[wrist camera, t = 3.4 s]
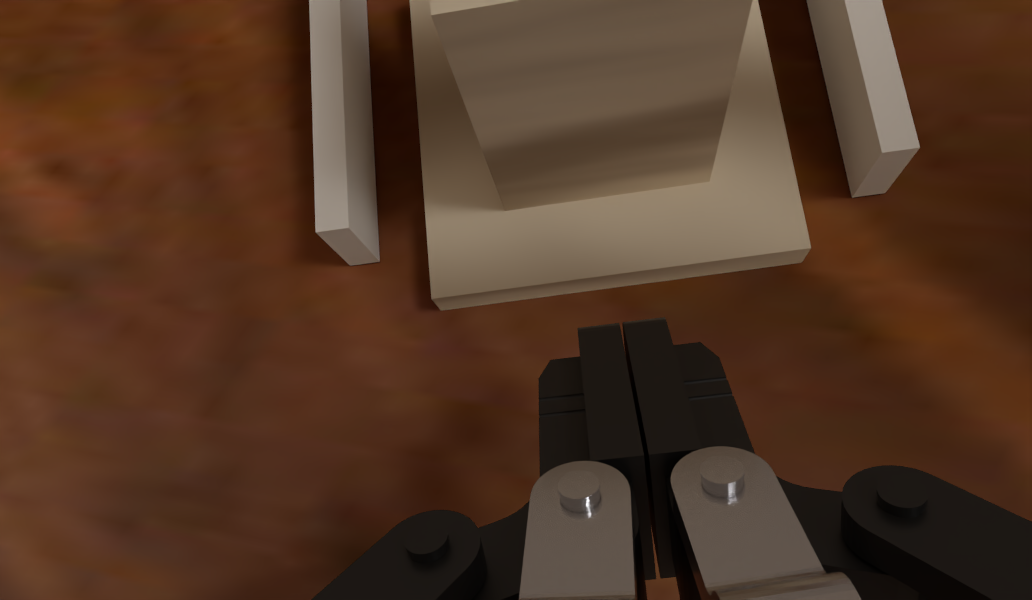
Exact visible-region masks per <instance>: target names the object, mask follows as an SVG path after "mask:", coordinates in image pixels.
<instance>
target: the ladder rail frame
mask: <svg viewBox="0 0 1032 600" xmlns="http://www.w3.org/2000/svg"><path fill="white" fill-rule="evenodd" d="M806 1H807V5H808V10H809V14H810V18H811V23H812V27H813V31H814V36H815V40H816V44H817V49H818V53H819V57H820V62H821V66H822V70H823V75H824V79H825V83H826V88H827V92H828V96H829V101H830V105H831V109H832V114H833V118H834V122H835V127H836V131H837V136H838V140H839V144H840V149H841V153H842V157H843V162H844V166H845V170H846V175H847V179H848V183H849V188H850V192H851V196H852V198H853V197H860V196H868V195H875V194H883V193H886V191H887V190H888V189H889V188H890V186H891V185H892V184H893V182H894V181H895V180H896V178H897V177H898V176H899V174H900V173H901V172H902V171H903V169H904V168H905V167H906V165H907V164H908V163H909V161H910V160H911V159H912V157H913V156H914V155H915V154H916V152H917V151H918V150H919V148H920V145H919V141H918V137H917V134H916V130H915V126H914V122H913V118H912V114H911V111H910V107H909V103H908V99H907V95H906V92H905V88H904V84H903V80H902V76H901V72H900V69H899V65H898V61H897V57H896V53H895V49H894V46H893V42H892V38H891V34H890V30H889V26H888V23H887V19H886V15H885V11H884V7H883V4H882V0H806ZM309 12H310V48H311V85H312V121H313V157H314V193H315V230H316V233H317V234H318V235H319V236H320V237H321V238H322V239H323V240H324V241H325V242H326V243H327V244H328V245H329V246H330V247H331V248H332V249H333V250H334V251H335V252H336V253H337V254H338V255H339V256H341V257H342V258H343V259H344V260H345V261H346V262H347V263H348V264H349V265H350V266H352V265H360V264H367V263H374V262H380V256H379V236H378V217H377V197H376V177H375V158H374V138H373V119H372V99H371V79H370V60H369V40H368V21H367V1H366V0H309Z"/></svg>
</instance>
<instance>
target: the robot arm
mask: <svg viewBox="0 0 1032 600" xmlns="http://www.w3.org/2000/svg"><path fill="white" fill-rule="evenodd" d="M623 336H624V346H625V351H624V346H623V340H622V335H621V330H620V325H619V323H615V324H607V325H599V326H591V327H582V328H578V338H579V348H580V357H572V358H564V359H555V360H550V362H549V363H548V365H547V366H546V368H545V370H544V371H543V373H542V374H541V376H540V377H539V417H540V418H539V442H540V478H539V479H538V481H537V482H536V483H535V484H534V486H533V489H532V491H531V495H530V501H529V502H528V503H527V504H526V505H525V506H524V507H522V508H521V509H520V510H518V511H517V512H516V513H514V514H512V515H510V516H508V517H506V518H504V519H502V520H499V521H496V522H494V523H491V524H488V525H485V526H483V527H480V528H477V526H476V525H475V523H474V522H473V521H472V520H471V519H470V518H468V517H466V516H465V515H463V514H460V513H458V512H454V511H449V510H433V511H428V512H423V513H420V514H417V515H414V516H412V517H409V518H407V519H406V520H404V521H402V522H401V523H399V524H398V525H396V526H395V527H394V528H393V529H392V530H390V531H389V532H388V533H387V534H386V535H385V536H384V537H382V538H381V539H380V540H379V541H378V542H377V543H376V544H374V545H373V546H372V547H371V548H370V549H369V550H368V551H366V552H365V553H364V554H363V555H362V556H361V557H360V558H358V559H357V560H356V561H355V562H354V563H353V564H352V565H350V566H349V567H348V568H347V569H346V570H345V571H344V572H342V573H341V574H340V575H339V576H338V577H337V578H336V579H334V580H333V581H332V582H331V583H330V584H329V585H328V586H326V587H325V588H324V589H323V590H322V591H321V592H320V593H318V594H317V595H316V596H315V597H314V598H313V599H312V600H647V594H646V585H645V580H650V579H656V573H655V563H654V553H653V542H652V533H653V539H654V544H655V550H656V555H657V561H658V567H659V572H660V578H669V577H676V579H677V584H678V589H679V594H680V600H1032V522H1031V521H1029V520H1026V519H1024V518H1022V517H1020V516H1018V515H1016V514H1014V513H1012V512H1009V511H1007V510H1005V509H1003V508H1001V507H999V506H997V505H995V504H992V503H990V502H988V501H986V500H984V499H982V498H980V497H978V496H975V495H973V494H971V493H969V492H967V491H965V490H963V489H961V488H958V487H956V486H954V485H952V484H950V483H948V482H946V481H944V480H941V479H939V478H937V477H935V476H933V475H931V474H928V473H926V472H923V471H920V470H917V469H913V468H909V467H903V466H892V465H891V466H877V467H871V468H868V469H864V470H862V471H860V472H858V473H856V474H855V475H853V476H852V477H851V478H850V479H849V480H848V481H847V482H846V484H845V485H844V487H843V491H842V492H838V491H830V490H822V489H814V488H808V487H803V486H799V485H796V484H792V483H790V482H787V481H785V480H782V479H781V478H779V477H777V476H775V474H774V472H773V470H772V469H771V467H770V466H769V465H768V464H767V463H766V462H765V461H764V460H763V459H762V458H760V457H759V456H757V455H755V453H754V450H753V447H752V445H751V442H750V439H749V437H748V434H747V431H746V429H745V426H744V423H743V421H742V418H741V415H740V413H739V410H738V407H737V404H736V402H735V399H734V396H732V391H731V388H730V386H729V383H728V380H726V375H725V372H724V370H723V367H722V364H721V362H720V359H719V357H718V356H716V355H715V354H714V353H713V352H712V351H710V350H709V349H708V348H707V347H705V346H704V345H703V344H702V343H700V342H698V343H689V344H681V345H673V343H672V339H671V336H670V332H669V329H668V325H667V322H666V319H665V317H664V318H655V319H647V320H639V321H631V322H623ZM625 355H626V356H625ZM651 527H652V532H651Z"/></svg>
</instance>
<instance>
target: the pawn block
mask: <svg viewBox="0 0 1032 600" xmlns="http://www.w3.org/2000/svg"><path fill="white" fill-rule="evenodd" d="M410 13H411V27H412V41H413V54H414V68H415V82H416V95H417V109H418V123H419V136H420V150H421V164H422V178H423V191H424V205H425V219H426V232H427V246H428V260H429V273H430V287H431V299H432V300H433V302H434V303H435V304H436V305H437V306H438V308H439V309H440V310H441V311H442V310H449V309H457V308H465V307H472V306H480V305H487V304H495V303H502V302H510V301H517V300H525V299H532V298H540V297H547V296H555V295H562V294H570V293H578V292H585V291H593V290H600V289H608V288H615V287H623V286H630V285H638V284H645V283H653V282H660V281H668V280H675V279H683V278H690V277H698V276H706V275H713V274H721V273H728V272H736V271H743V270H751V269H758V268H766V267H773V266H781V265H788V264H796V263H802V262H803V260H804V258H805V257H806V255H807V254H808V252H809V251H810V249H811V244H810V240H809V235H808V230H807V226H806V221H805V216H804V212H803V207H802V203H801V198H800V193H799V189H798V184H797V179H796V175H795V170H794V165H793V161H792V156H791V152H790V147H789V142H788V138H787V133H786V128H785V124H784V119H783V115H782V110H781V105H780V101H779V96H778V91H777V87H776V82H775V77H774V73H773V68H772V64H771V59H770V54H769V50H768V45H767V40H766V36H765V31H764V27H763V22H762V17H761V13H760V8H759V3H758V0H410Z"/></svg>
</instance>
